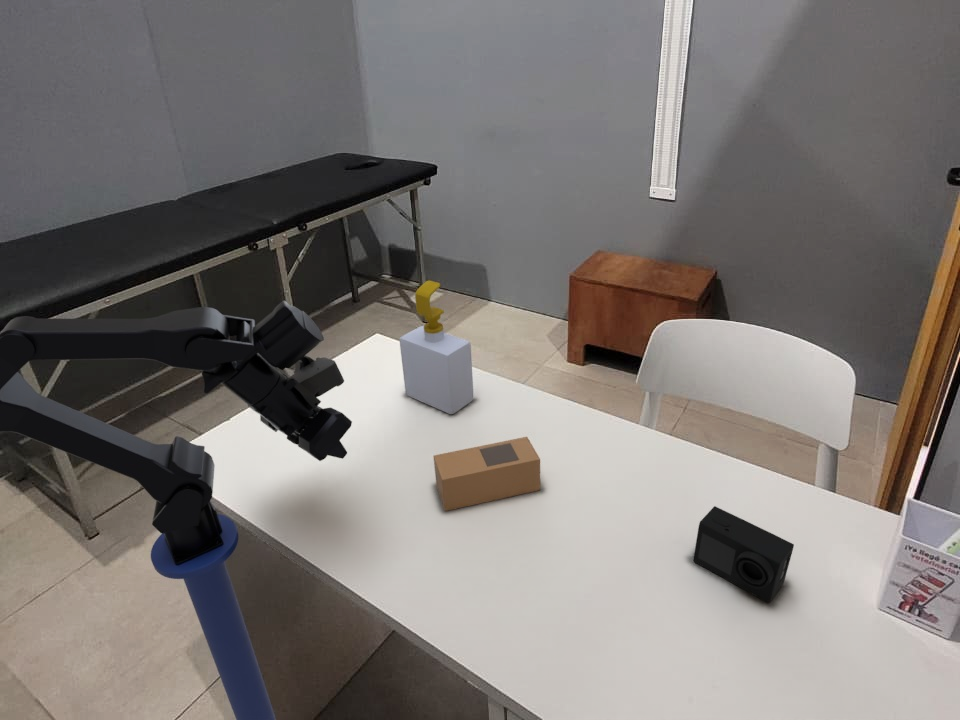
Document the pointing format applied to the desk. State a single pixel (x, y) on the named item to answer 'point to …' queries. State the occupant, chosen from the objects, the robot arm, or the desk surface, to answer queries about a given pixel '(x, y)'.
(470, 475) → the carton
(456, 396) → the soap bottle
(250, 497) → the desk surface
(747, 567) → the digital camera
